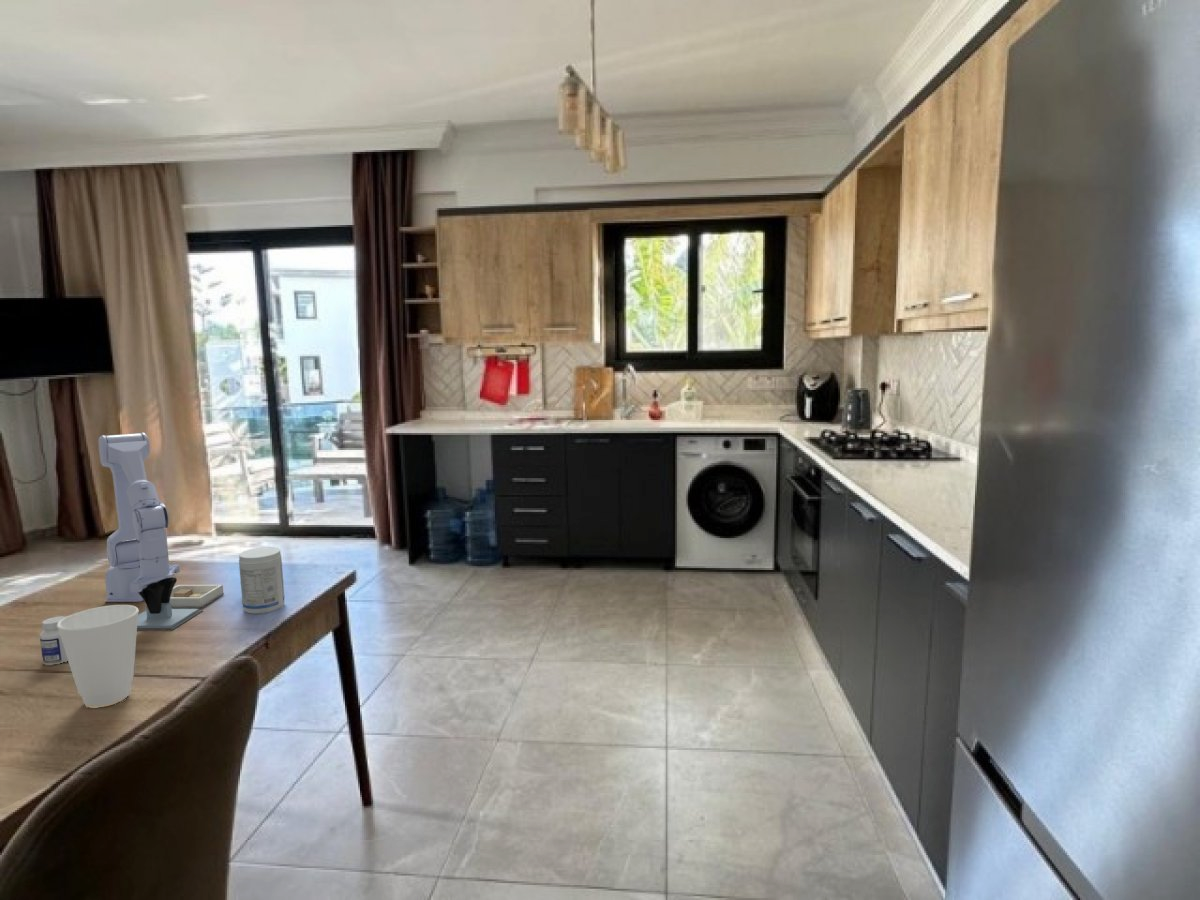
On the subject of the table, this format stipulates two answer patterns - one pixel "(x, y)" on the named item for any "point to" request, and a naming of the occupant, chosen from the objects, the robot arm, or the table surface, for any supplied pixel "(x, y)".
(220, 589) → the storage box
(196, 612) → the mat
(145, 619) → the lid
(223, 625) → the table surface
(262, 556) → the supplement tub
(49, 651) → the pill bottle
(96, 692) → the cup
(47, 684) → the table surface
